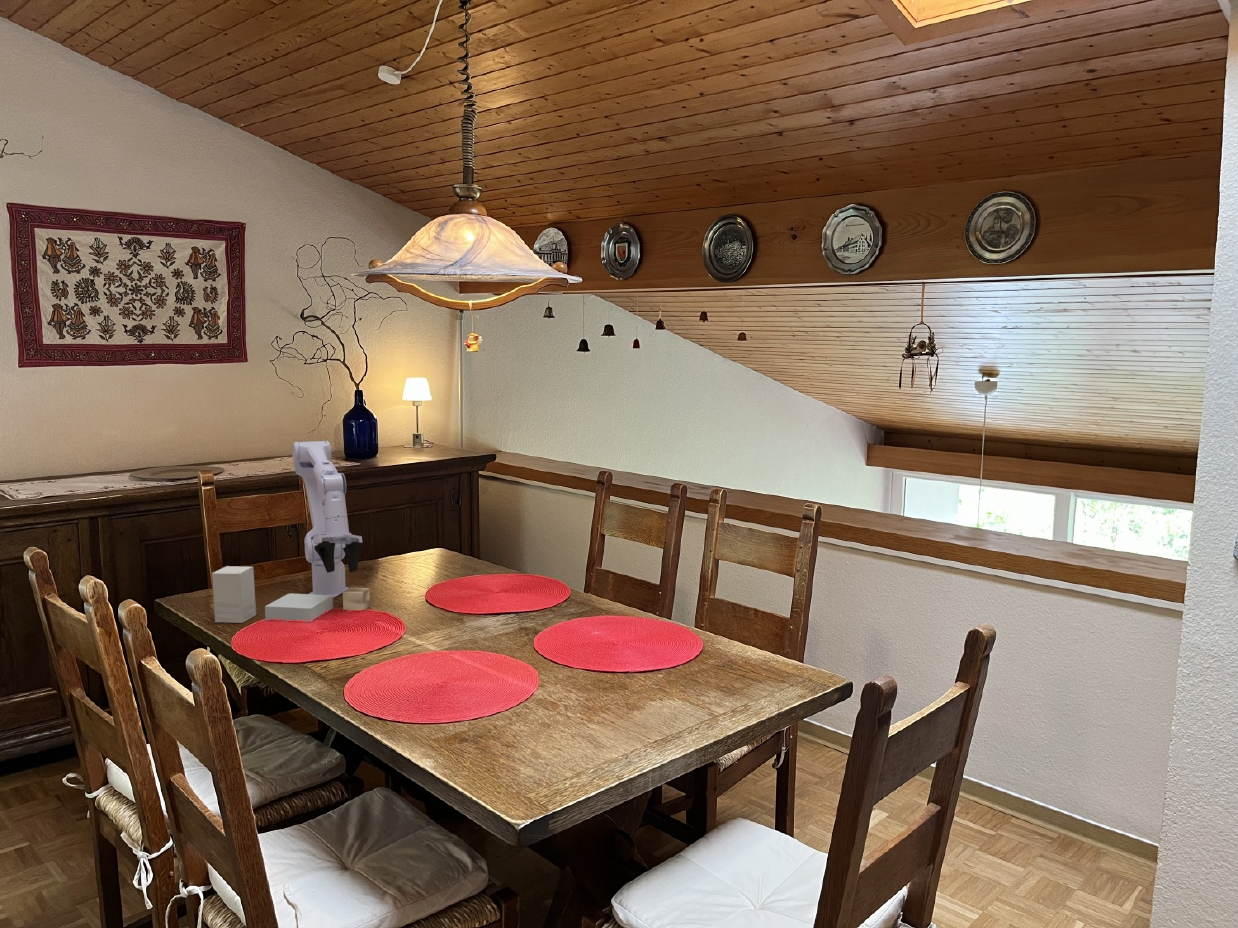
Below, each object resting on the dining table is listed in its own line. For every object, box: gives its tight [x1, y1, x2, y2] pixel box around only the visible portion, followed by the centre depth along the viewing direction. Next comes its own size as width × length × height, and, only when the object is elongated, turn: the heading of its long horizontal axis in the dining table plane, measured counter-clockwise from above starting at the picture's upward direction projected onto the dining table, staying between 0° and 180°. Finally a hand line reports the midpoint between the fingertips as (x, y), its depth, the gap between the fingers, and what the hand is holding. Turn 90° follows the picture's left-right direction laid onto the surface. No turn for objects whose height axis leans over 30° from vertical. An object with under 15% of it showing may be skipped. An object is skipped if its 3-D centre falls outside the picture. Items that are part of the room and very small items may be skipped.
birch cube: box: [342, 587, 371, 611], centre depth 237 cm, size 5×5×5 cm
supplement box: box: [211, 565, 257, 624], centre depth 227 cm, size 7×7×13 cm
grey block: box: [264, 593, 334, 621], centre depth 232 cm, size 12×12×4 cm
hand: (342, 571), depth 232 cm, fingers open, 7 cm apart
